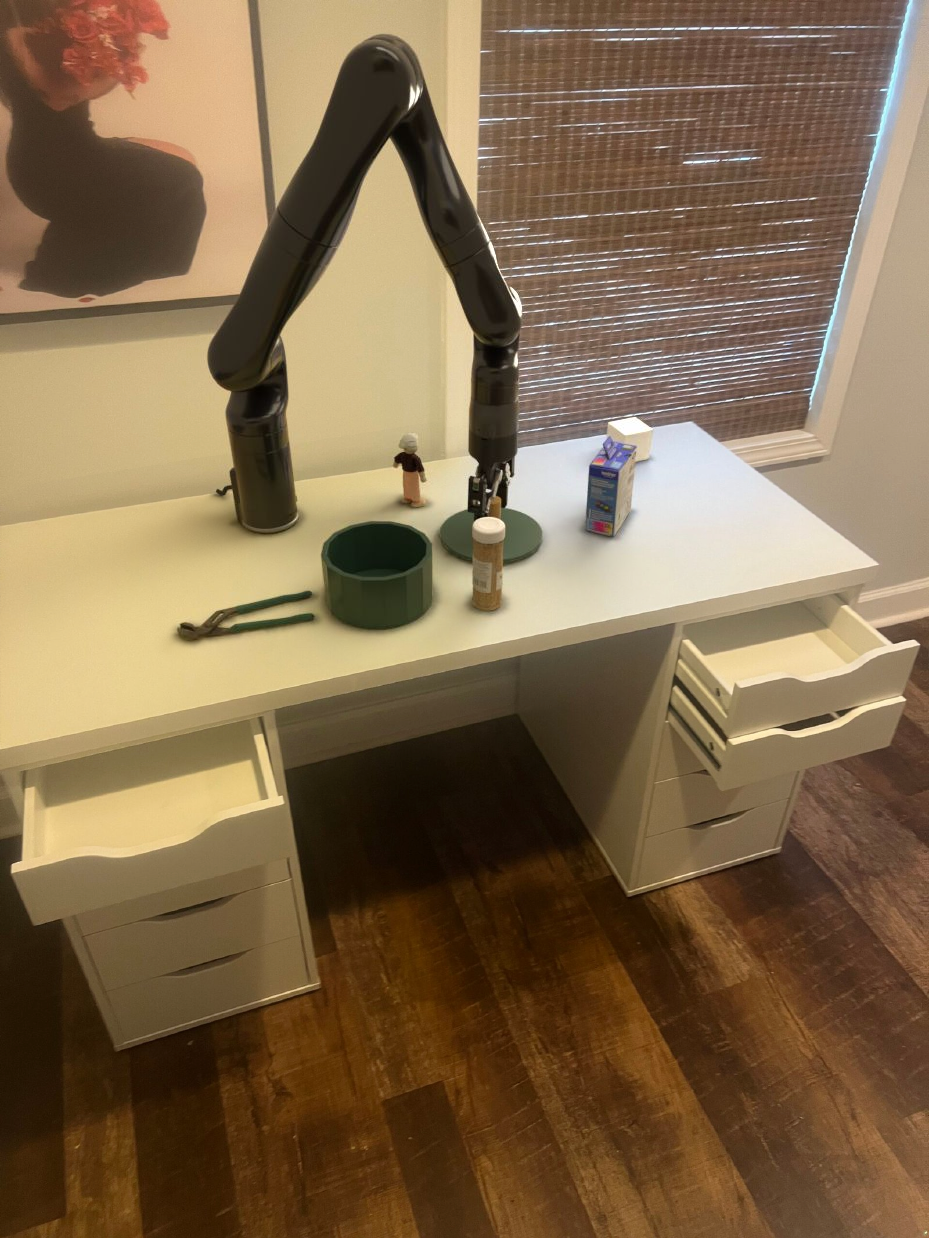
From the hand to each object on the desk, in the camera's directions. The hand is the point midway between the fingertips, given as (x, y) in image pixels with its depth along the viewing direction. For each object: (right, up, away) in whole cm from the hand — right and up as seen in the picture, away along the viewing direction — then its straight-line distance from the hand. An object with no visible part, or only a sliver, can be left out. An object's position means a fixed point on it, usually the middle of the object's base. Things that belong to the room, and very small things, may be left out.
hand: (490, 518), depth 145 cm
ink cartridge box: (+20, 0, +7) cm, 21 cm away
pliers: (-35, -16, -16) cm, 42 cm away
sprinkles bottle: (-1, -14, -12) cm, 18 cm away
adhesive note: (+27, +15, +27) cm, 40 cm away
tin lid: (0, -2, +2) cm, 3 cm away
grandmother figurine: (-13, +4, +12) cm, 18 cm away
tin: (-17, -13, -11) cm, 24 cm away
